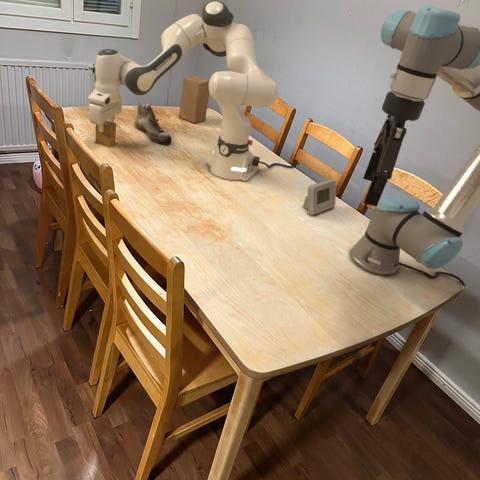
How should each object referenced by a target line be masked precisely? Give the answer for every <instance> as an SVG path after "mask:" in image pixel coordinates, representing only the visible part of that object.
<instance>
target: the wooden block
mask: <svg viewBox="0 0 480 480" xmlns="http://www.w3.org/2000/svg"><path fill="white" fill-rule="evenodd" d="M182 78H183V79H182V88H181V95H180V105H179V113H178V118H180V119H183V120H185V121H187V122H190V123H192V124H197V123H201V122H203V121H206V118H207V111H208V104H209V100H210V99H209V98H210V92H209V81H210V79H207V78H203V77H200V76H198V75H191V76H185V77H182Z"/></svg>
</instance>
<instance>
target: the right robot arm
mask: <svg viewBox="0 0 480 480" xmlns="http://www.w3.org/2000/svg"><path fill="white" fill-rule="evenodd" d="M460 21H461V15H460V13H459V12H456V11H452V10H448V9H444V8H439V7H435V6H431V5H422V6H421V7H420V8H419V9H418V11H417V12H412V11H411V10H403V9H396V10H394V11H392V12H391V13H389V14H388V15H387V16H386V18H385V19H384V21H383V23H382V25H381V28H380V39H381V41H382V43H383V44H384V45H385V46H387V47H390V48H391V49H392V50H393V49H394V50H398V51H400V52H401V55H400V58H399V61H398V63H397V66H396V69H395V72H392V73H390V76H389V77H390V79H392V80H391V82H390V85H389V90H390V91H388V92H386V95H385V98H384V99H383V100H384V101H383V104H382V106H381V110H382V112H383V113H385V114H387V115H386V119H385V121H384V123H383V125H382V127H381V128H380V131H379V134H378V135H377V138H376V140H375V142H374V143H373V145H374V147H373V151H372V154H371V156H370V159H369V161H368V164H367V166H366V170H365V172H364V174H363V180H366V181H369V182H370V185H369V187H368V190H367V193H366V195H365V197H364V200H363V204H365V205H369V206H373V207H374V209H373V211H372V214H371V217H370V219H369V222H368V225H367V227H366V230H365V232H364V234H363V235H362V236H361V238H359V240H358V241H357V242H356V243H355V244H354V246H352V249H351V251H350V258H351V259H352V260H351V261H353V262H354V263H355V264H356V265H357V266H358V267H359V268H361V269H363V270H364V271H366V272H368V273H371V274H374V275H379V276H391V275H394V274H395V273H396V272H397V270H398V269H399V266H401V267H404V268H406V269H409V270H412V271H415V272H418V273H419V274H423V275H425V276H427V277H428V278H430V279H438V276H439V275H444V276H449V277H451V278H454V279H456V280H457V281H458V282H459V283H460V284H461V285H462V286H463V287H466V284H465V282H464V281H463V280H462V278H460V277H459V276H457V275H456V274H453V273H450V272H446V271H440V270H439V271H436V272H435V273H434V275H433V274H432V275H431V274H430V273H428V272H426V271H424V270H421V269H419V268H416V267H414V266H411V265H408V264H406V263H402V262H400V256H401V255H400V254H401V250H402V251H403V252H404V253H406V254H407V255H409V257H411V258H413V260H415V261H416V262H417V263H419V264H420V265H422V266H424V267H425V268H427V269H430V270H435V269H439V268H442V267H443V266H446V265H447V264H449V263H450V262H451V261H453V259H454V258H455V257H456V256H457V255H458V254H459V253H460V252H461V250H462V247H464V246H463V245H464V241H463V240H462V238H461V236H462V235H463V233H464V227H463V224H464V222H465V221H466V219H467V218H468V217H469V216H470V214H471V213H472V212H473V210H474V209H475V207H476V206H477V205H478V204H479V202H480V142H479V143H478V144H477V146H476V147H475V148H474V150H473V151H472V153H470V156H469V157H468V158H467V160H466V161H465V163H464V164H463V166H462V167H461V168H460V170H459V171H458V173H457V174H456V175H455V177H454V178H453V179H452V181H451V182H450V184H449V185H448V186H447V188H446V189H445V191H444V192H443V193H442V195H441V196H440V198H439V199H438V200H437V202H436V203H435V205H434V206H433V207H430V208H427V209H425V210H424V211H423V212H422V213H421V212H420V211H419V210H420V208H421V206H420V203H419V202H418V201H417V200H416V199H413V198H411V197H408V196H406V195H402V194H401V195H400V194H394V193H392V194H391V193H390V194H389V193H388V194H383V193H384V190H385V188H386V185H387V183H388V181H389V180H392V177H393V172H394V169H395V167H396V163H397V160H398V157H399V155H400V150H401V147H402V144H403V141H404V138H405V137H406V134H407V131H408V130H407V128H406V127H405V126H406V122H407V121H411V122H415V121H417V120H419V119H420V117H421V114H422V112H423V110H424V108H425V105H426V103H425V100H427V99H428V98H429V96H430V94H431V91H432V89H433V87H434V84H435V82H436V79H437V77H438V78H440V79H441V80H443V81H444V82H445V83H447V84H448V85H449V86H451V87H452V90H453V92H454V94H455V95H457V96H458V97H460V98H461V99H462V100H463V101H465V102H466V103H467V104H468V105H470V106H471V107H472V108H473V109H475V110H477V111H479V112H480V29H479V28H478V27H474V26H466V25H462V24H459V23H460ZM382 194H383V195H382Z"/></svg>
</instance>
